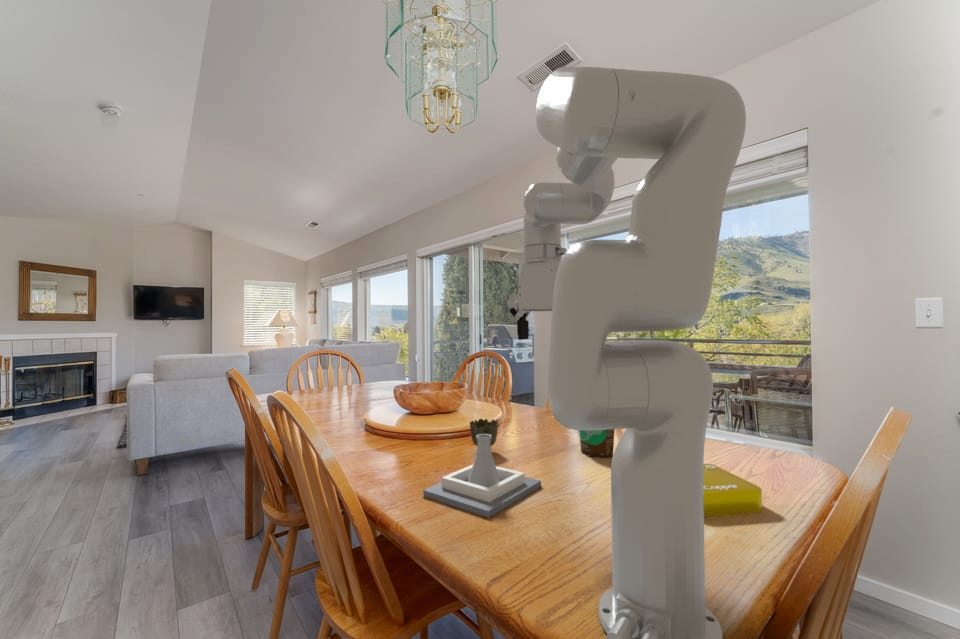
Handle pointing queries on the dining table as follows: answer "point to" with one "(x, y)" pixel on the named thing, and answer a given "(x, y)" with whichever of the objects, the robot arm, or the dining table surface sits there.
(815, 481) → the dining table surface
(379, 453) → the dining table surface
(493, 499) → the collar board
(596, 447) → the food container
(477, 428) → the cup
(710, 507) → the element tile
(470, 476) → the flask
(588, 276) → the robot arm
